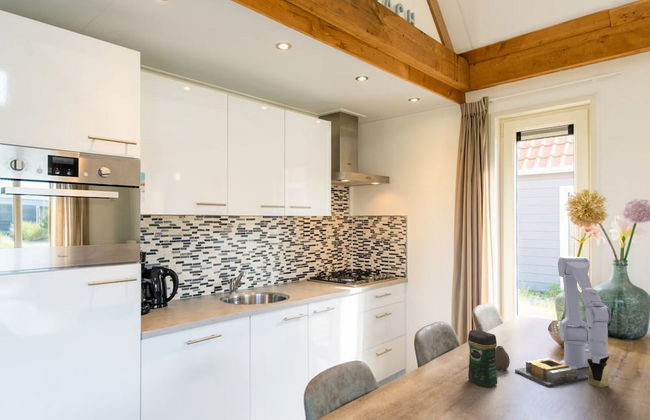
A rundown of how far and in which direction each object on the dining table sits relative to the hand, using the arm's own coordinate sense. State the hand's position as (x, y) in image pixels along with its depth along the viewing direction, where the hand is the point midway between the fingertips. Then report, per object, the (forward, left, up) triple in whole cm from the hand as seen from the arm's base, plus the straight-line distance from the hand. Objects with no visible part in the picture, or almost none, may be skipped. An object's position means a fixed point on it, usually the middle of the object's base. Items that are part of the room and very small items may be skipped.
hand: (598, 377), depth 144 cm
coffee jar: (+38, -16, -3) cm, 41 cm away
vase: (+22, -24, -3) cm, 33 cm away
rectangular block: (0, 0, -2) cm, 2 cm away
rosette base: (+9, -12, -2) cm, 15 cm away
